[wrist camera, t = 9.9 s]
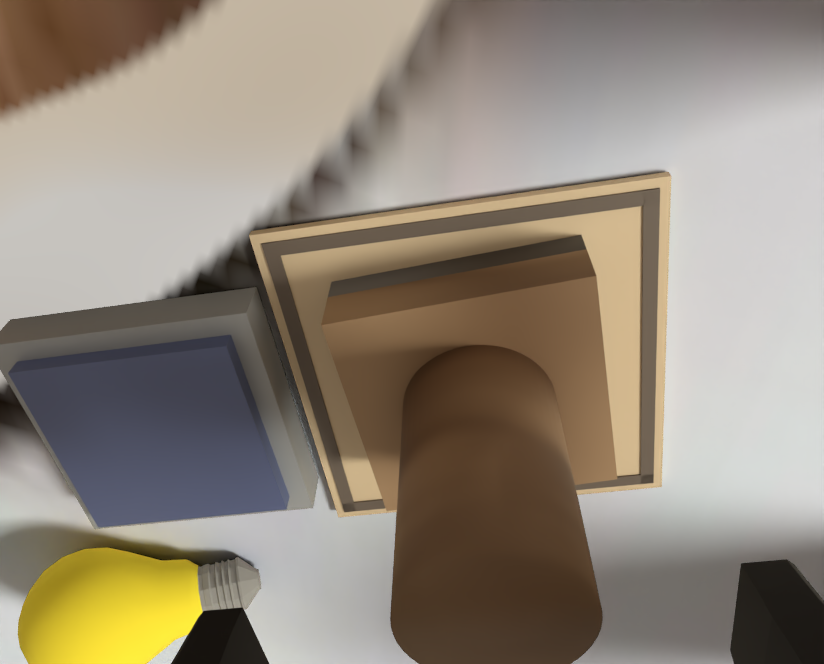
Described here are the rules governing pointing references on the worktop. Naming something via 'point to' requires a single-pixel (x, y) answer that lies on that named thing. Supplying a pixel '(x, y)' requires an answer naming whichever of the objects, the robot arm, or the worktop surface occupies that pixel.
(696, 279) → the worktop surface
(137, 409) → the ink pad
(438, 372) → the stamp
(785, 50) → the worktop surface
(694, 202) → the worktop surface
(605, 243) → the card sheet
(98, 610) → the light bulb
